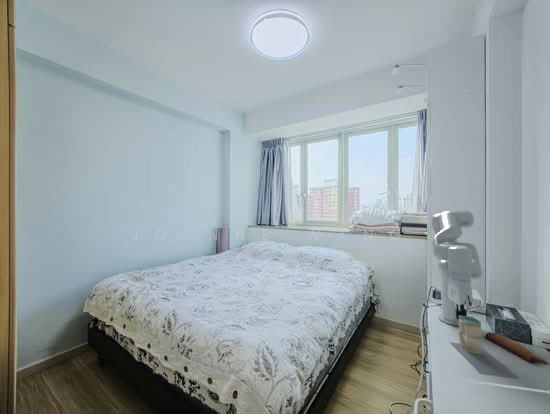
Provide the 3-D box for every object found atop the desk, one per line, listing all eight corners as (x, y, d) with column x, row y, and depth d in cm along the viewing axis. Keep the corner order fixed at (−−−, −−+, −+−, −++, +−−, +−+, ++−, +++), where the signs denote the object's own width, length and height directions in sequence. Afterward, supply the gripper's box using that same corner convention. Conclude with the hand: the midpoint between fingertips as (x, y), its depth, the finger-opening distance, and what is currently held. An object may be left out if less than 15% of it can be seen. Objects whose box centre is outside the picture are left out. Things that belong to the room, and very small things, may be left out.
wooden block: (459, 345, 94) (458, 315, 95) (474, 346, 93) (472, 316, 94) (466, 352, 90) (465, 320, 90) (482, 353, 88) (480, 322, 89)
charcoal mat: (449, 343, 97) (449, 342, 97) (480, 347, 94) (480, 345, 94) (480, 375, 77) (480, 373, 77) (520, 380, 75) (519, 378, 75)
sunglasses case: (554, 364, 83) (543, 348, 83) (538, 375, 82) (528, 359, 82) (503, 338, 101) (494, 325, 101) (490, 347, 100) (481, 334, 100)
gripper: (441, 271, 106) (443, 312, 105) (459, 279, 92) (461, 326, 91) (460, 272, 105) (461, 313, 104) (481, 281, 90) (483, 329, 89)
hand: (461, 319), depth 97 cm, fingers closed
